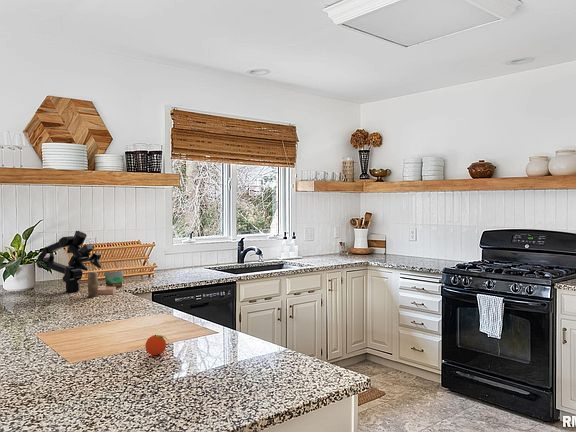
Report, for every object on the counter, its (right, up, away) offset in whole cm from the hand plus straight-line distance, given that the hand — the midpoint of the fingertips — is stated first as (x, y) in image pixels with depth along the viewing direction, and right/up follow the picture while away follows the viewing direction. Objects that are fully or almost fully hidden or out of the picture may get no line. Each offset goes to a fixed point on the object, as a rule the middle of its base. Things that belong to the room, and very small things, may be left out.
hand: (94, 268), depth 278 cm
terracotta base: (+5, -14, +5) cm, 16 cm away
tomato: (+63, -19, -106) cm, 125 cm away
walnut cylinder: (+2, -14, -5) cm, 15 cm away
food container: (+6, -14, +20) cm, 24 cm away
